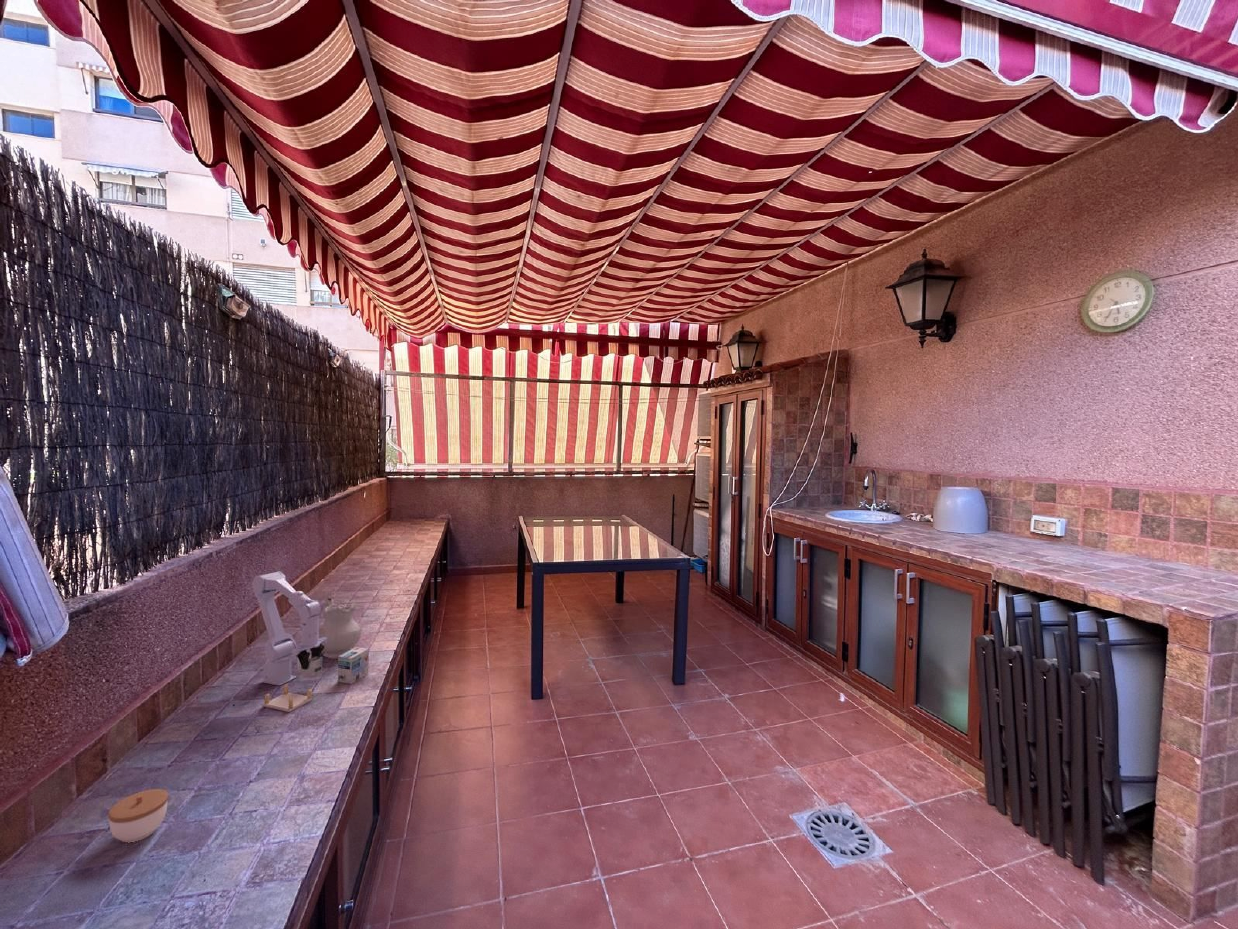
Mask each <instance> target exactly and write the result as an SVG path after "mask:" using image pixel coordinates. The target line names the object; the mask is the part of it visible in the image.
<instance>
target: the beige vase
mask: <svg viewBox="0 0 1238 929" xmlns="http://www.w3.org/2000/svg"><path fill="white" fill-rule="evenodd" d="M356 607H357V604H356V603H350V604H348V605H344V604H336V603H334V600H333V597H331V596H330V597H329V596H326V597H325V602H324V608H323V610H322V615H323V617H324V622H323V624H322V625H319V638H322V637H326V638H327V642H326V643H322V645H324V649H323V651H322V653H323V654H322V657H325V658H329V659H333V660H335V659H336V660H338V656H340V655H342V654H344V653H346V652H348V651H350V650H351V649H353V648H355V647H356V645H357V644H358V643H359V641H360V639H361V636H362V633H363V629H362V626H361V624H360V623H358V622H357V621H355V620H354V618H353V614H354V612H355V610H356Z"/></svg>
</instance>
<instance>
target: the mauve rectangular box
mask: <svg viewBox="0 0 1238 929" xmlns="http://www.w3.org/2000/svg"><path fill="white" fill-rule="evenodd" d="M323 657H324V656H320V657H319V656H313V655H311V654H310V656H309V660H308V668H307V669H306V670H305V669H302V667H301V664H300V661H299V659H298V657H297V659H296V660H297V663H296V664H297V668H296V669H297V670H296V671H297V672H299V673H303V674H304V673H305V674H308V675H309V674H310V675H315V674H317V673H319V672H321V671H323Z"/></svg>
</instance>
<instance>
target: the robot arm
mask: <svg viewBox="0 0 1238 929" xmlns="http://www.w3.org/2000/svg"><path fill="white" fill-rule="evenodd" d="M286 578H287V577H286V575H285V574H284V573H283V572H282V571H280V570H279V571H275V572H271V573H265V574H261V575H256V576H255V577H254V578H253V579H252V583H251V587H252V590H253V593H254V596H255V598H257V602H258V606H259V609H260V612H261V614H262V618H263V622H264V625H265V628H266V631H267V634H268V640H267V641H266V642H265V644H264V645H263V646H264V656H265V658H266V661H265V662H264V665H263V680H261V682H262V683H265V684H269V685H274V686H282V685H283V684H284V685H285V684H286V683H288V682H290V681H292V680H294V679H297V676H296V675H292V658H293V657H294V656H296V657H297V658H298V659H299V661H300V664H301V667H302V669H305V670H306V669H307V668H308V660H309V656H310V655H313V656H319V657H321V655H322V653H323V649H324V645H322V643H326V642H327V638H326V637H322V638H319V627H320V624H319V623H320V615H321V614H323V610H324V608H323V604H322V603H321V601H320V600H318V599H316V600H315V599H311V598H310V597H309V596H307V595H306V594H305V593H304V592H303V590H302V591H301V590H298V591H296V589H295V588H293V587H292V586H291V584H290V583H289V582H288V581H287V579H286ZM278 592H279V593H280V594H282V595H284V596H285V597H286V598H288V603H289V604H290V605H291V606H292V607H293V608H294V609H296V610H297V612H298V616H299V619H300V623H301V644H299V645H297V643H296V641H295V640H294V639H293V636H292V634H290V633H286V632H285V629H284V627H283V626H284V625H283V623H282V619H281V617H280V614H279V610H278V607H277V604H276V601H275V598H274V596H275V595H276V594H277V593H278ZM308 650H310V652H308Z"/></svg>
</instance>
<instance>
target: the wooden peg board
mask: <svg viewBox="0 0 1238 929" xmlns="http://www.w3.org/2000/svg"><path fill="white" fill-rule="evenodd" d="M312 692H313V691H312V689H307V690H306V695H305V694H304V695H303V694H298V693H294V692H289V684H284V686H283V694H281V695H279V696H277V697H274V698H272V699H270V695H271V694H270V693H267V694H265V695H264V703H263V706H264V708H265V707H266V708H270V709H275V710H279V711H283V712H287V713H288V712H289V713H291V712H292V711H294V710H296V709H298V708H300V707H301V706H303V705H305V704H307V703H309V702H311V701H312V700H313V695H312Z"/></svg>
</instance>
